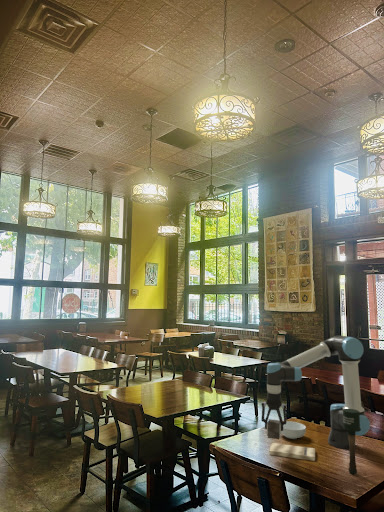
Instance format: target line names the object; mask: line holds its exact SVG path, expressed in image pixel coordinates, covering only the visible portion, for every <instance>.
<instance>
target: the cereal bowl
mask: <svg viewBox="0 0 384 512" xmlns="http://www.w3.org/2000/svg"><path fill="white" fill-rule="evenodd" d="M280 424H281V423H280ZM306 429H307V427H306V425H305V424H302V423H301V422H296V421H287V423H286V424H284V425H283V431H281V436H284V437H285V438H287V439H290V440H297V438H298V439H299V438H302V437H304V436H305V434H306Z"/></svg>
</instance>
